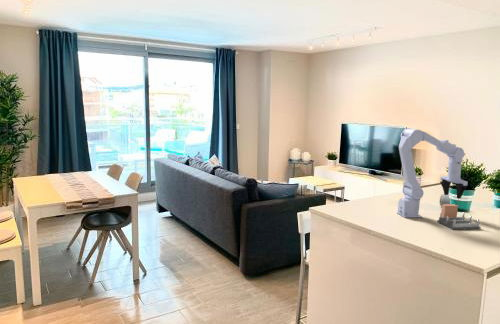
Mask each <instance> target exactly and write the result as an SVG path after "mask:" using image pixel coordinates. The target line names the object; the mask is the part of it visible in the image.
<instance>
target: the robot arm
mask: <svg viewBox="0 0 500 324" xmlns="http://www.w3.org/2000/svg"><path fill="white" fill-rule="evenodd" d="M421 142H427V143H429V144H430V145H433V146H435V147H436V150H437V151H439V152H441V153H443V154H445V155H446V156H447V157H448V166H447V176H445V175H442V176H440V181H439V184H441V187H442V190H443V194H444V195H450V188H451V183H454V184H455V189H456V195H457V198H458V200H459V199H462V196H463V193H464V192H465V190H466V189H467V188H468V181H466V180H464V179H462V178H461V173H462V162H463V158H464V157H465V155H466V152H465V151H464V148H462V147H459V146H457V144H454V143H451V142H449V140H448V139H441V140H439V139H438V138H436V136H433V135H431V134H429V133H428V132H426V131H423V130H421V129H414V128H405V129H404V130H403V131H402V132H401V134H400V141H399V144H398V151H399V152H398V153H399V157H400V162H401V167H402V172H403V177H404V182H402V185H403V186H402V193H403V195H404V196H403V198H399V200H398V204H397V212H396V214H398V215H399V216H401V217H403V218H408V219H409V218H423V216H422V215H420V213H419V212H420V203H421V199H422V198H423V196H424V190H423V189H422V187H421V183H420V182H419V181H418V179H417V175H416V174H417V173H416V168H415V165H414V164H415V163H414V158H413V153H412V149H413V148H414V147H415V146H417V145H418V144H419V143H421Z"/></svg>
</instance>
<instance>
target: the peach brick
mask: <svg viewBox="0 0 500 324" xmlns="http://www.w3.org/2000/svg"><path fill="white" fill-rule="evenodd" d="M458 208H459V204H458V205H455V204H442V208H441V212H440V213H442V217H447V216H448V217H458Z"/></svg>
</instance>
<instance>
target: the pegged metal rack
mask: <svg viewBox="0 0 500 324" xmlns="http://www.w3.org/2000/svg"><path fill="white" fill-rule="evenodd" d="M472 217H473V216H472V215H469V219H465V218H466V217H465V212H462V216H457V217H448V216H447V217H442V213H441V212H440V214H439V217H438V219H437V220H436V223H438V224H440V225H442V226H444V227H446V228H448V229H450V230H452V231H456V230H457V231H458V230H459V231H460V230H462V231H463V230H481V226H480V218H477V220H476V222H473V220H472Z"/></svg>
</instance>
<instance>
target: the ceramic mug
mask: <svg viewBox="0 0 500 324" xmlns="http://www.w3.org/2000/svg"><path fill="white" fill-rule="evenodd" d="M449 195H450V194H448V195H444V193H443V194H440V197H439V206H440V209H442V204H450V198H449Z"/></svg>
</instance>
